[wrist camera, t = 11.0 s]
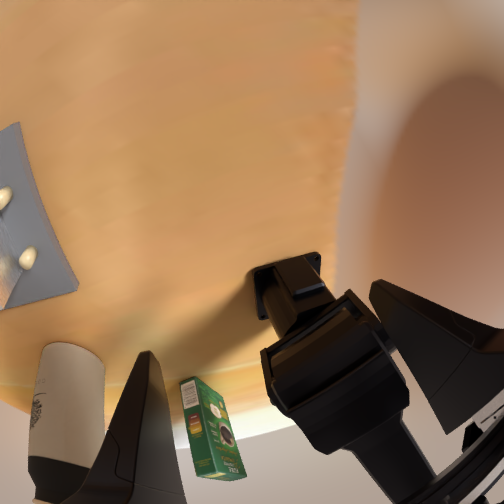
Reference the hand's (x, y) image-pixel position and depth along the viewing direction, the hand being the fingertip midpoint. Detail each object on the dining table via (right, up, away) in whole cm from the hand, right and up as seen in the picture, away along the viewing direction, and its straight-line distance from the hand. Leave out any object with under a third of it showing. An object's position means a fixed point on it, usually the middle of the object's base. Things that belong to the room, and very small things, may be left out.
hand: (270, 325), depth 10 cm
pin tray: (-21, +4, +4) cm, 22 cm away
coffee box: (-7, -15, +23) cm, 29 cm away
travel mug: (-21, -10, +14) cm, 27 cm away
